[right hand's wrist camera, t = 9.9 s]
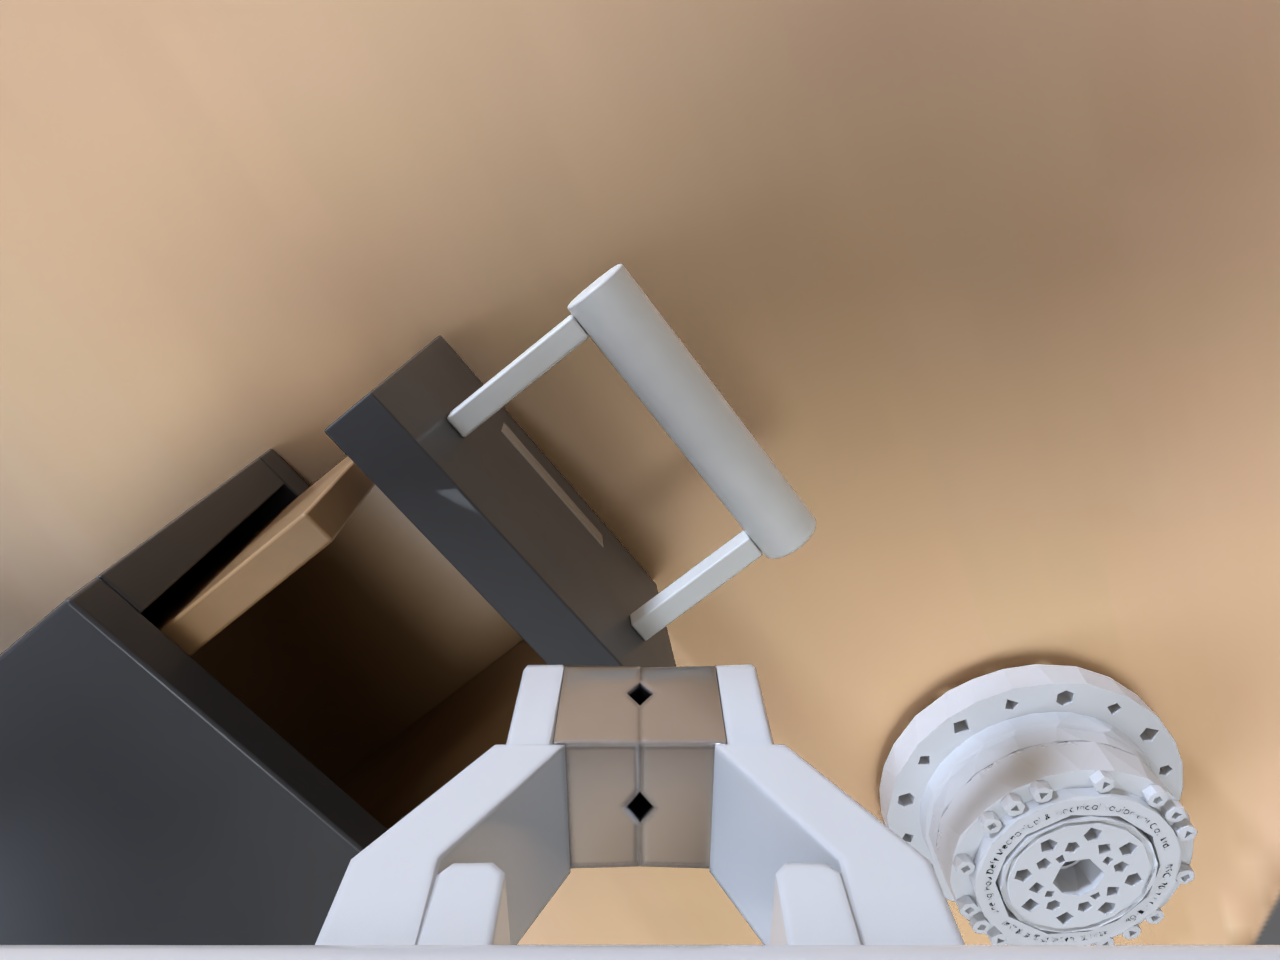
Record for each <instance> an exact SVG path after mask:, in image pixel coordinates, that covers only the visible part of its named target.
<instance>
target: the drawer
mask: <svg viewBox="0 0 1280 960" xmlns="http://www.w3.org/2000/svg"><path fill="white" fill-rule="evenodd" d="M568 310H569V311H570V313H571V314H572V315H569V316H568V317H567V318H566V319H564V320H563V321H562V322H561V323H559V324H558V325H557V326H556V327H554V328H553V329H552V330H551V331H550V332H548V333H547V334H546V335H545V336H543V337H542V338H541V339H540V340H538V341H537V342H536V343H535V344H534V345H532V346H531V347H530V348H529V349H527V350H526V351H525V352H524V353H522V354H521V355H520V356H519V357H518V358H516V359H515V360H514V361H513V362H511V363H510V364H509V365H508V366H506V367H505V368H504V369H503V370H502V371H500V372H499V373H498V374H497V375H495V376H494V377H493V378H492V379H490V380H489V381H488V382H487V383H486V384H484V385H483V384H482V383H481V381H480V380H479V379H478V378H477V377H476V376H475V374H474V373H473V372H472V371H471V370H470V369H469V367H468V366H467V365H466V364H465V363H464V362H463V361H462V359H461V358H460V357H459V356H458V355H457V354H456V352H455V351H454V350H453V349H452V348H451V347H450V346H449V344H448V343H447V342H446V341H445V340H444V339H443V337H442V336H438V337H437V338H436V339H434V340H433V341H432V342H431V343H430V344H428V345H427V346H426V347H425V348H423V349H422V350H421V351H420V352H419V353H417V354H416V355H415V356H414V357H412V358H411V359H410V360H409V361H408V362H406V363H405V364H404V365H403V366H401V367H400V368H399V369H398V370H397V371H395V372H394V373H393V374H392V375H390V376H389V377H388V378H387V379H386V380H384V381H383V382H382V383H381V384H379V385H378V386H377V387H376V388H375V389H373V390H372V391H371V392H370V393H368V394H367V395H366V396H365V397H364V398H362V399H361V400H360V401H359V402H358V403H356V404H355V405H354V406H353V407H352V408H350V409H349V410H348V411H347V412H346V413H344V414H343V415H342V416H341V417H340V418H338V419H337V420H336V421H335V422H334V423H332V424H331V425H330V426H329V427H328V428H326V429H325V433H326V434H327V435H328V436H329V437H330V438H331V439H332V440H333V441H334V442H335V443H336V444H337V445H338V446H339V447H340V448H341V449H342V450H343V451H344V453H345V454H346V455H347V457H346V458H345V459H343V460H342V461H341V462H340V463H339V464H337V465H336V466H335V467H334V468H332V469H331V470H330V471H329V472H328V473H326V474H325V475H324V476H323V477H321V478H320V479H319V480H318V481H317V482H315V483H314V484H313V485H312V486H310V487H309V488H308V489H307V490H306V491H304V492H303V493H302V494H301V495H300V496H298V497H297V498H296V499H295V500H293V501H292V502H291V503H290V504H289V505H287V506H286V507H285V508H284V509H282V510H281V511H280V512H279V513H278V514H276V515H275V516H274V517H273V518H271V519H270V520H269V521H268V522H267V523H265V524H264V525H263V526H262V527H261V528H259V529H258V530H257V531H256V532H254V533H253V534H252V535H251V536H250V537H248V538H247V539H246V540H245V541H243V542H242V543H241V544H240V545H239V546H237V547H236V548H235V549H234V550H232V551H231V552H230V553H229V554H228V555H226V556H225V557H224V558H223V559H222V560H220V561H219V562H218V563H217V564H215V565H214V566H213V567H212V568H211V569H209V570H208V571H207V572H206V573H204V574H203V575H202V576H201V577H200V578H198V579H197V580H196V581H195V582H193V583H192V584H191V585H190V586H189V587H187V588H186V589H185V590H184V591H183V592H181V593H180V594H179V595H178V596H176V597H175V598H174V599H173V600H172V601H170V602H169V603H168V604H167V605H165V606H164V607H163V608H162V609H161V610H159V611H158V612H157V613H156V614H154V615H153V616H152V617H151V618H150V619H148V620H149V621H150V622H151V623H152V624H153V625H154V626H155V627H157V628H158V629H159V630H160V631H161V632H162V633H163V634H165V635H166V636H167V637H168V638H169V639H170V640H171V641H173V642H174V643H175V644H176V645H177V646H178V647H179V648H181V649H182V650H183V651H184V652H185V653H186V654H187V655H189V656H190V657H191V658H192V659H193V660H194V661H195V662H197V663H198V664H199V665H200V666H201V667H202V668H203V669H205V670H206V671H207V672H208V673H209V674H210V675H211V676H213V677H214V678H215V679H216V680H217V681H218V682H219V683H221V684H222V685H223V686H224V687H225V688H226V689H227V690H229V691H230V692H231V693H232V694H233V695H234V696H235V697H237V698H238V699H239V700H240V701H241V702H242V703H243V704H245V705H246V706H247V707H248V708H249V709H250V710H251V711H253V712H254V713H255V714H256V715H257V716H258V717H259V718H261V719H262V720H263V721H264V722H265V723H266V724H267V725H269V726H270V727H271V728H272V729H273V730H274V731H275V732H277V733H278V734H279V735H280V736H281V737H282V738H283V739H285V740H286V741H287V742H288V743H289V744H290V745H291V746H293V747H294V748H295V749H296V750H297V751H298V752H299V753H301V754H302V755H303V756H304V757H305V758H306V759H307V760H309V761H310V762H311V763H312V764H313V765H314V766H315V767H317V768H318V769H319V770H320V771H321V772H322V773H323V774H325V775H326V776H327V777H328V778H329V779H330V780H331V781H333V782H334V783H335V784H336V785H337V786H338V787H339V788H341V789H342V790H343V791H344V792H345V793H346V794H347V795H349V796H350V797H351V798H352V799H353V800H354V801H355V802H357V803H358V804H359V805H360V806H361V807H362V808H363V809H365V810H366V811H367V812H368V813H369V814H370V815H371V816H373V817H374V818H375V819H376V820H377V821H378V822H379V823H381V824H382V825H383V826H384V827H385V828H386V829H387V830H389V829H390V828H391V827H392V826H394V825H395V824H396V823H397V822H399V821H400V820H401V819H402V818H404V817H405V816H406V815H407V814H409V813H410V812H411V811H412V810H414V809H415V808H416V807H417V806H419V805H420V804H421V803H422V802H424V801H425V800H426V799H428V798H429V797H430V796H431V795H433V794H434V793H435V792H436V791H438V790H439V789H440V788H441V787H443V786H444V785H445V784H446V783H448V782H449V781H450V780H451V779H453V778H454V777H455V776H456V775H458V774H459V773H460V772H461V771H463V770H464V769H465V768H466V767H468V766H469V765H470V764H471V763H473V762H474V761H475V760H476V759H478V758H479V757H480V756H481V755H483V754H484V753H485V752H486V751H488V750H489V749H490V748H491V747H493V746H494V745H506V743H507V739H508V734H509V730H510V726H511V722H512V717H513V713H514V709H515V705H516V700H517V696H518V692H519V687H520V683H521V679H522V675H523V671H524V669H525V668H526V667H527V665H564V666H566V665H590V666H638V667H640V668H645V667H676V664H675V660H674V656H673V652H672V648H671V644H670V640H669V635H668V631H667V627H666V626H667V625H668V624H669V623H671V622H672V621H674V620H675V619H676V618H678V617H679V616H680V615H682V614H683V613H684V612H686V611H687V610H688V609H690V608H691V607H693V606H694V605H695V604H697V603H698V602H699V601H701V600H702V599H703V598H705V597H706V596H707V595H709V594H710V593H711V592H713V591H714V590H716V589H717V588H718V587H720V586H721V585H722V584H724V583H725V582H726V581H728V580H729V579H730V578H732V577H733V576H734V575H736V574H737V573H739V572H740V571H741V570H743V569H744V568H745V567H747V566H748V565H749V564H751V563H752V562H753V561H755V560H756V559H758V558H759V557H760V556H761V555H762V553H763V554H764V556H766V557H768V558H770V559H777V558H781V557H784V556H787V555H789V554H791V553H792V552H794V551H796V550H797V549H798V548H800V547H801V546H802V545H803V544H804V543H805V542H806V541H807V540H808V539H809V538H810V537H811V535H812V534H813V532H814V530H815V528H816V519H815V517H814V516H813V515H812V513H811V512H810V511H809V509H808V508H807V507H806V505H805V504H804V503H803V501H802V500H801V499H800V497H799V496H798V495H797V493H796V492H795V491H794V489H793V488H792V487H791V486H790V484H789V483H788V482H787V480H786V479H785V478H784V476H783V475H782V474H781V472H780V471H779V470H778V468H777V467H776V466H775V464H774V463H773V462H772V461H771V459H770V458H769V457H768V455H767V454H766V453H765V451H764V450H763V449H762V447H761V446H760V445H759V443H758V442H757V441H756V439H755V438H754V437H753V435H752V434H751V433H750V432H749V430H748V429H747V428H746V426H745V425H744V424H743V422H742V421H741V420H740V418H739V417H738V416H737V414H736V413H735V412H734V410H733V409H732V408H731V406H730V405H729V404H728V403H727V401H726V400H725V399H724V397H723V396H722V395H721V393H720V392H719V391H718V389H717V388H716V387H715V385H714V384H713V383H712V381H711V380H710V379H709V377H708V376H707V375H706V374H705V372H704V371H703V370H702V368H701V367H700V366H699V364H698V363H697V362H696V360H695V359H694V358H693V356H692V355H691V354H690V352H689V351H688V350H687V348H686V347H685V346H684V345H683V343H682V342H681V341H680V339H679V338H678V337H677V335H676V334H675V333H674V331H673V330H672V329H671V327H670V326H669V325H668V323H667V322H666V321H665V319H664V318H663V317H662V316H661V314H660V313H659V312H658V310H657V309H656V308H655V306H654V305H653V304H652V302H651V301H650V300H649V298H648V297H647V296H646V294H645V293H644V292H643V290H642V289H641V288H640V287H639V285H638V284H637V283H636V281H635V280H634V279H633V277H632V276H631V275H630V273H629V272H628V271H627V269H626V268H625V267H624V265H622V264H618V265H616V266H614V267H613V268H611V269H610V270H608V271H607V272H606V273H604V274H603V275H602V276H600V277H599V278H598V279H597V280H595V281H594V282H593V283H592V284H591V285H589V286H588V287H587V288H586V289H585V290H583V291H582V292H581V293H580V294H579V295H578V296H577V297H576V298H574V299H573V300H572V301H571V302H570V304H569V305H568ZM588 335H589V336H590V338H591V339H592V340H593V341H594V343H595V344H596V345H597V346H598V348H599V349H600V350H601V351H602V353H603V354H604V355H605V356H606V358H607V359H608V360H609V361H610V363H611V364H612V365H613V366H614V368H615V369H616V370H617V371H618V373H619V374H620V375H621V376H622V378H623V379H624V380H625V381H626V383H627V384H628V385H629V386H630V388H631V389H632V390H633V391H634V393H635V394H636V395H637V396H638V398H639V399H640V400H641V401H642V403H643V404H644V405H645V406H646V408H647V409H648V410H649V412H650V413H651V414H652V415H653V417H654V418H655V419H656V420H657V422H658V423H659V424H660V425H661V427H662V428H663V429H664V430H665V432H666V433H667V434H668V435H669V437H670V438H671V439H672V440H673V442H674V443H675V444H676V445H677V447H678V448H679V449H680V450H681V452H682V453H683V454H684V455H685V457H686V458H687V459H688V460H689V462H690V463H691V464H692V465H693V467H694V468H695V469H696V470H697V472H698V473H699V474H700V475H701V477H702V478H703V479H704V480H705V482H706V483H707V484H708V485H709V487H710V488H711V489H712V490H713V492H714V493H715V494H716V495H717V497H718V498H719V499H720V500H721V502H722V503H723V504H724V505H725V507H726V508H727V509H728V510H729V512H730V513H731V514H732V515H733V517H734V518H735V519H736V520H737V522H738V523H739V524H740V525H741V527H742V528H743V529H744V530H743V531H742V532H740V533H739V534H738V535H736V536H735V537H734V538H732V539H731V540H730V541H728V542H727V543H726V544H724V545H723V546H722V547H720V548H719V549H718V550H716V551H715V552H714V553H712V554H711V555H710V556H708V557H707V558H705V559H704V560H703V561H701V562H700V563H699V564H697V565H696V566H695V567H693V568H692V569H691V570H689V571H688V572H687V573H685V574H684V575H683V576H681V577H680V578H679V579H677V580H676V581H675V582H673V583H672V584H671V585H669V586H668V587H667V588H665V589H664V590H663V591H661V592H660V593H659V594H658V590H657V586H656V584H655V583H654V581H653V580H652V579H651V578H650V577H649V576H648V574H647V573H646V572H645V571H644V570H643V569H642V568H641V566H640V565H639V564H638V563H637V562H636V561H635V559H634V558H633V557H632V556H631V555H630V554H629V552H628V551H627V550H626V549H625V548H624V547H623V546H622V544H621V543H620V542H619V541H618V540H617V539H616V537H615V536H614V535H613V534H612V533H611V532H610V531H609V529H608V528H607V527H606V526H605V525H604V524H603V522H602V521H601V520H600V519H599V518H598V517H597V515H596V514H595V513H594V512H593V511H592V510H591V509H590V507H589V506H588V505H587V504H586V503H585V502H584V500H583V499H582V498H581V497H580V496H579V495H578V494H577V492H576V491H575V490H574V489H573V488H572V487H571V485H570V484H569V483H568V482H567V481H566V480H565V478H564V477H563V476H562V475H561V474H560V473H559V472H558V470H557V469H556V468H555V467H554V466H553V465H552V463H551V462H550V461H549V460H548V459H547V458H546V457H545V455H544V454H543V453H542V452H541V451H540V450H539V448H538V447H537V446H536V445H535V444H534V443H533V441H532V440H531V439H530V438H529V437H528V436H527V435H526V433H525V432H524V431H523V430H522V429H521V428H520V426H519V425H518V424H517V423H516V422H515V421H514V420H513V418H512V417H511V416H510V415H509V414H508V413H507V411H506V410H505V409H504V408H503V406H504V405H506V404H507V403H508V402H509V401H511V400H512V399H513V398H514V397H516V396H517V395H518V394H519V393H521V392H522V391H523V390H524V389H526V388H527V387H528V386H529V385H531V384H532V383H533V382H534V381H536V380H537V379H538V378H539V377H541V376H542V375H543V374H544V373H545V372H547V371H548V370H549V369H550V368H552V367H553V366H554V365H555V364H557V363H558V362H559V361H560V360H562V359H563V358H564V357H565V356H567V355H568V354H569V353H570V352H572V351H573V350H574V349H575V348H577V347H578V346H579V345H580V344H581V343H583V342H584V341H585V340H586V339H587V338H588ZM761 552H762V553H761Z"/></svg>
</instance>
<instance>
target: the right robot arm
mask: <svg viewBox="0 0 1280 960" xmlns="http://www.w3.org/2000/svg"><path fill="white" fill-rule="evenodd" d="M632 866H646V867H681V868H710V873H711V874H712V875H713V877H714V878H715V879H716V881H717V882H718V883H719V885H720V886H721V887H722V889H723V890H724V892H725V893H726V894H727V896H728V897H729V898H730V900H731V901H732V902H733V904H734V905H735V906H736V908H737V909H738V910H739V912H740V913H741V915H742V916H743V917H744V919H745V920H746V921H747V923H748V924H749V925H750V927H751V928H752V929H753V931H754V932H755V933H756V935H757V936H758V937H759V939H760V940H761V942H762V943H763V944H764V945H517V943H518V942H519V941H520V939H521V938H522V937H523V935H524V934H525V933H526V931H527V930H528V929H529V927H530V926H531V925H532V923H533V922H534V921H535V919H536V918H537V917H538V915H539V914H540V912H541V911H542V910H543V908H544V907H545V906H546V904H547V903H548V902H549V900H550V899H551V898H552V896H553V895H554V894H555V892H556V891H557V890H558V888H559V887H560V886H561V884H562V883H563V882H564V880H565V879H566V878H567V876H568V875H569V874H570V868H598V867H632ZM0 960H1280V945H965V943H964V941H963V939H962V936H961V934H960V931H959V929H958V927H957V924H956V922H955V919H954V917H953V915H952V912H951V910H950V907H949V905H948V903H947V900H946V898H945V895H944V893H943V891H942V888H941V886H940V884H939V881H938V879H937V876H936V874H935V872H934V869H933V867H932V864H931V862H930V860H928V859H927V858H926V857H925V856H923V855H922V854H921V853H920V852H918V851H917V850H916V849H915V848H913V847H912V846H911V845H910V844H908V843H907V842H906V841H905V840H903V839H902V838H901V837H900V836H898V835H897V834H896V833H895V832H893V831H892V830H891V829H890V828H888V827H887V826H886V825H885V824H883V823H882V822H881V821H880V820H878V819H877V818H876V817H875V816H873V815H872V814H871V813H870V812H868V811H867V810H866V809H865V808H863V807H862V806H861V805H860V804H858V803H857V802H856V801H855V800H853V799H852V798H851V797H850V796H848V795H847V794H846V793H845V792H843V791H842V790H841V789H840V788H838V787H837V786H836V785H835V784H834V783H832V782H831V781H830V780H829V779H827V778H826V777H825V776H824V775H822V774H821V773H820V772H819V771H817V770H816V769H815V768H814V767H812V766H811V765H810V764H809V763H807V762H806V761H805V760H804V759H802V758H801V757H800V756H799V755H797V754H796V753H795V752H794V751H792V750H791V749H790V748H789V747H787V746H786V745H774V743H773V739H772V735H771V730H770V726H769V722H768V718H767V714H766V709H765V705H764V701H763V697H762V692H761V688H760V684H759V680H758V675H757V671H756V668H755V667H754V666H753V665H752V664H746V665H718V666H701V667H645V668H640V667H638V666H590V665H566V666H564V665H527V667H526V668H525V669H524V671H523V675H522V679H521V683H520V687H519V692H518V696H517V700H516V705H515V709H514V713H513V717H512V722H511V726H510V730H509V734H508V739H507V743H506V745H494V746H493V747H491V748H490V749H489V750H488V751H486V752H485V753H484V754H483V755H481V756H480V757H479V758H478V759H476V760H475V761H474V762H473V763H471V764H470V765H469V766H468V767H466V768H465V769H464V770H463V771H461V772H460V773H459V774H458V775H456V776H455V777H454V778H453V779H451V780H450V781H449V782H448V783H446V784H445V785H444V786H443V787H441V788H440V789H439V790H438V791H436V792H435V793H434V794H433V795H431V796H430V797H429V798H428V799H426V800H425V801H424V802H422V803H421V804H420V805H419V806H417V807H416V808H415V809H414V810H412V811H411V812H410V813H409V814H407V815H406V816H405V817H404V818H402V819H401V820H400V821H399V822H397V823H396V824H395V825H394V826H392V827H391V828H390V829H389V830H387V831H386V832H385V833H384V834H382V835H381V836H380V837H379V838H377V839H376V840H375V841H374V842H372V843H371V844H370V845H369V846H367V847H366V848H365V849H364V850H362V851H361V852H360V853H358V854H357V855H356V856H355V857H353V858H352V859H351V861H350V863H349V865H348V868H347V870H346V872H345V875H344V877H343V879H342V882H341V884H340V887H339V889H338V891H337V894H336V896H335V898H334V901H333V903H332V905H331V908H330V910H329V913H328V915H327V917H326V920H325V922H324V924H323V927H322V929H321V931H320V934H319V936H318V938H317V941H316V943H315V945H0Z"/></svg>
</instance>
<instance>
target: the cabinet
mask: <svg viewBox="0 0 1280 960" xmlns="http://www.w3.org/2000/svg"><path fill="white" fill-rule="evenodd" d="M309 487H310V486H309V485H308V484H307V483H306V482H305V481H304V480H303V479H302V478H301V477H300V476H299V475H298V474H297V473H296V472H295V471H294V470H293V469H292V468H291V467H290V466H289V465H288V464H287V463H286V462H285V461H284V460H283V459H282V458H281V457H280V456H279V455H278V454H277V453H276V452H275V451H274V450H273V449H270V450H268V451H267V452H266V453H264V454H263V455H262V456H260V457H259V458H258V459H256V460H255V461H253V462H252V463H251V464H249V465H248V466H247V467H245V468H244V469H243V470H241V471H240V472H239V473H237V474H236V475H234V476H233V477H232V478H230V479H229V480H228V481H226V482H225V483H224V484H222V485H221V486H220V487H218V488H217V489H215V490H214V491H213V492H211V493H210V494H209V495H207V496H206V497H205V498H203V499H202V500H200V501H199V502H198V503H196V504H195V505H194V506H192V507H191V508H190V509H188V510H187V511H186V512H184V513H183V514H181V515H180V516H179V517H177V518H176V519H175V520H173V521H172V522H171V523H169V524H168V525H167V526H165V527H164V528H162V529H161V530H160V531H158V532H157V533H156V534H154V535H153V536H152V537H150V538H149V539H147V540H146V541H145V542H143V543H142V544H141V545H139V546H138V547H137V548H135V549H134V550H133V551H131V552H130V553H128V554H127V555H126V556H124V557H123V558H122V559H120V560H119V561H118V562H116V563H115V564H114V565H112V566H111V567H109V568H108V569H107V570H105V571H104V572H103V573H101V574H100V575H99V576H97V577H96V578H95V579H94V580H92V581H91V582H89V583H88V584H86V585H85V586H84V587H82V588H81V589H80V590H78V591H77V592H76V593H74V594H73V595H72V596H70V597H69V598H67V599H66V600H65V601H64V602H63V603H61V604H60V605H59V606H58V607H57V608H55V609H54V610H53V611H52V612H51V613H49V614H48V615H47V616H46V617H45V618H44V619H42V620H41V621H40V622H39V623H38V624H36V625H35V626H34V627H33V628H32V629H30V630H29V631H28V632H27V633H26V634H24V635H23V636H22V637H21V638H20V639H19V640H17V641H16V642H15V643H14V644H13V645H11V646H10V647H9V648H8V649H7V650H5V651H4V652H3V653H2V654H1V655H0V945H315V943H316V941H317V938H318V936H319V934H320V931H321V929H322V927H323V924H324V922H325V920H326V917H327V915H328V913H329V910H330V908H331V905H332V903H333V901H334V898H335V896H336V894H337V891H338V889H339V887H340V884H341V882H342V879H343V877H344V875H345V872H346V870H347V868H348V865H349V863H350V861H351V859H352V858H353V857H355V856H356V855H357V854H358V853H360V852H361V851H362V850H364V849H365V848H366V847H367V846H369V845H370V844H371V843H372V842H374V841H375V840H376V839H377V838H379V837H380V836H381V835H382V834H384V833H385V832H386V831H387V829H386V828H385V827H384V826H383V825H382V824H381V823H379V822H378V821H377V820H376V819H375V818H374V817H373V816H371V815H370V814H369V813H368V812H367V811H366V810H365V809H363V808H362V807H361V806H360V805H359V804H358V803H357V802H355V801H354V800H353V799H352V798H351V797H350V796H349V795H347V794H346V793H345V792H344V791H343V790H342V789H341V788H339V787H338V786H337V785H336V784H335V783H334V782H333V781H331V780H330V779H329V778H328V777H327V776H326V775H325V774H323V773H322V772H321V771H320V770H319V769H318V768H317V767H315V766H314V765H313V764H312V763H311V762H310V761H309V760H307V759H306V758H305V757H304V756H303V755H302V754H301V753H299V752H298V751H297V750H296V749H295V748H294V747H293V746H291V745H290V744H289V743H288V742H287V741H286V740H285V739H283V738H282V737H281V736H280V735H279V734H278V733H277V732H275V731H274V730H273V729H272V728H271V727H270V726H269V725H267V724H266V723H265V722H264V721H263V720H262V719H261V718H259V717H258V716H257V715H256V714H255V713H254V712H253V711H251V710H250V709H249V708H248V707H247V706H246V705H245V704H243V703H242V702H241V701H240V700H239V699H238V698H237V697H235V696H234V695H233V694H232V693H231V692H230V691H229V690H227V689H226V688H225V687H224V686H223V685H222V684H221V683H219V682H218V681H217V680H216V679H215V678H214V677H213V676H211V675H210V674H209V673H208V672H207V671H206V670H205V669H203V668H202V667H201V666H200V665H199V664H198V663H197V662H195V661H194V660H193V659H192V658H191V657H190V656H189V655H187V654H186V653H185V652H184V651H183V650H182V649H181V648H179V647H178V646H177V645H176V644H175V643H174V642H173V641H171V640H170V639H169V638H168V637H167V636H166V635H165V634H163V633H162V632H161V631H160V630H159V629H158V628H157V627H155V626H154V625H153V624H152V623H151V622H150V621H149V620H148V619H150V618H151V617H152V616H153V615H154V614H156V613H157V612H158V611H159V610H161V609H162V608H163V607H164V606H165V605H167V604H168V603H169V602H170V601H172V600H173V599H174V598H175V597H176V596H178V595H179V594H180V593H181V592H183V591H184V590H185V589H186V588H187V587H189V586H190V585H191V584H192V583H193V582H195V581H196V580H197V579H198V578H200V577H201V576H202V575H203V574H204V573H206V572H207V571H208V570H209V569H211V568H212V567H213V566H214V565H215V564H217V563H218V562H219V561H220V560H222V559H223V558H224V557H225V556H226V555H228V554H229V553H230V552H231V551H232V550H234V549H235V548H236V547H237V546H239V545H240V544H241V543H242V542H243V541H245V540H246V539H247V538H248V537H250V536H251V535H252V534H253V533H254V532H256V531H257V530H258V529H259V528H261V527H262V526H263V525H264V524H265V523H267V522H268V521H269V520H270V519H271V518H273V517H274V516H275V515H276V514H278V513H279V512H280V511H281V510H282V509H284V508H285V507H286V506H287V505H289V504H290V503H291V502H292V501H293V500H295V499H296V498H297V497H298V496H300V495H301V494H302V493H303V492H304V491H306V490H307V489H308V488H309Z"/></svg>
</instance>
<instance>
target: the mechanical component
mask: <svg viewBox="0 0 1280 960" xmlns="http://www.w3.org/2000/svg"><path fill="white" fill-rule="evenodd" d="M1182 790H1183V764H1182V760H1181V757H1180V754H1179V751H1178V748H1177V745H1176V742H1175V740H1174V739H1173V737H1172V736H1171V735H1170V733H1169V732H1168V730H1167V729H1166V728H1165V726H1164V725H1163V723H1162V722H1161V720H1160V719H1159V718H1158V716H1157V715H1156V714H1155V713H1154V712H1153V711H1152V710H1151V709H1150V708H1149V707H1148V706H1147V705H1146V704H1145V703H1144V702H1143V701H1142V699H1141V698H1140V697H1139V696H1138V695H1137V694H1135V693H1134V692H1132V691H1130V690H1129V689H1127V688H1126V687H1124V686H1123V685H1121V684H1120V683H1118V682H1117V681H1115V680H1113V679H1112V678H1110V677H1108V676H1105V675H1102V674H1099V673H1096V672H1093V671H1090V670H1086V669H1083V668H1080V667H1077V666H1063V665H1043V664H1033V665H1027V666H1020V667H1013V668H1006V669H1001V670H998V671H995V672H992V673H989V674H986V675H983V676H980V677H977V678H974V679H972V680H970V681H968V682H966V683H963V684H961V685H959V686H957V687H955V688H953V689H951V690H949V691H947V692H946V693H945V694H943V695H942V696H941V697H939V698H938V699H937V700H936V701H934V702H933V703H932V704H930V705H929V706H928V707H926V708H925V709H924V710H922V711H921V712H920V713H919V714H917V715H916V716H915V717H914V718H913V720H912V721H911V722H910V723H909V725H908V726H907V727H906V729H905V730H904V731H903V733H902V734H901V735H900V737H899V738H898V739H897V740H896V742H895V743H894V745H893V747H892V749H891V751H890V753H889V756H888V758H887V760H886V762H885V764H884V767H883V772H882V777H881V783H880V788H879V794H880V805H881V814H882V817H883V820H884V823H885V825H886V826H887V827H888V828H890V829H891V830H892V831H893V832H895V833H896V834H897V835H898V836H900V837H901V838H902V839H903V840H905V841H906V842H907V843H908V844H910V845H911V846H912V847H913V848H915V849H916V850H917V851H918V852H920V853H921V854H922V855H923V856H925V857H926V858H927V859H928V860H930V862H931V864H932V867H933V869H934V872H935V874H936V876H937V879H938V881H939V884H940V886H941V888H942V891H943V893H944V895H945V898H946V899H947V900H950V901H954V902H956V904H957V906H958V908H959V911H960V914H961V915H963V916H964V917H965V918H966V919H968V920H969V921H970V922H969V924H970V925H971V927H972V928H973V930H974V932H975V933H979V934H982V933H984V934H986V935H988V937H989V939H990V941H991V943H992V945H1005V944H1007V945H1090V944H1093V943H1094V944H1095V945H1114V939H1113V937H1115V936H1117V935H1119V934H1122V935H1123V937H1124V938H1127V939H1134V938H1136V937H1137V936H1139V935H1140V932H1141V929H1140V927H1139V924H1140V923H1141V922H1143V921H1144V920H1146V921H1147V922H1148V923H1158V922H1160V921H1161V920H1162V919H1163V918H1164V915H1163V912H1162V910H1161V909H1160V908H1161V907H1162V906H1163V905H1165V904H1166V903H1167V902H1168V900H1169V899H1170V897H1171V896H1172V895H1173V893H1174V892H1175V891H1176V889H1177V888H1178V886H1179V885H1180V884H1187V883H1189V882H1191V881H1192V880H1193V879H1194V878H1195V877H1194V872H1193V870H1192V868H1191V867H1190V865H1189V864H1190V862H1191V859H1192V852H1193V842H1194V838H1195V836H1196V834H1197V831H1196V829H1195V828H1194V827H1193V825H1192V824H1191V823H1190V820H1189V815H1188V814H1187V813H1186V811H1185V810H1184V808H1183V806H1182V805H1181V804H1180V803H1179V801H1180V797H1181V793H1182Z"/></svg>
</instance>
